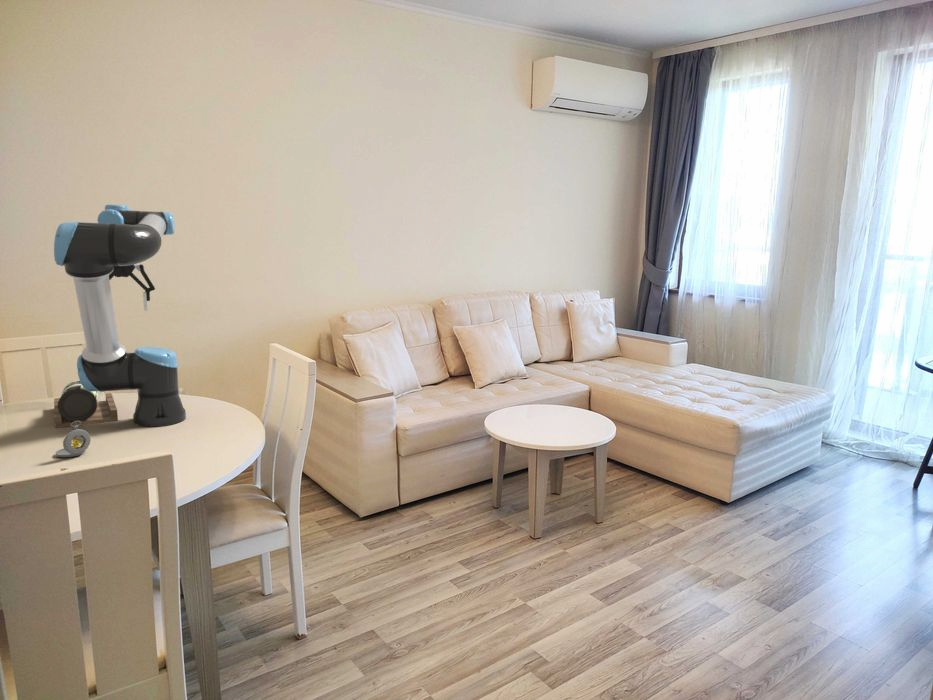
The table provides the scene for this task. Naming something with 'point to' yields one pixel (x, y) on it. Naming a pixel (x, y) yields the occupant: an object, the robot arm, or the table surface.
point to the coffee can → (77, 402)
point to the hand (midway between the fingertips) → (124, 310)
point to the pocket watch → (74, 442)
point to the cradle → (102, 414)
